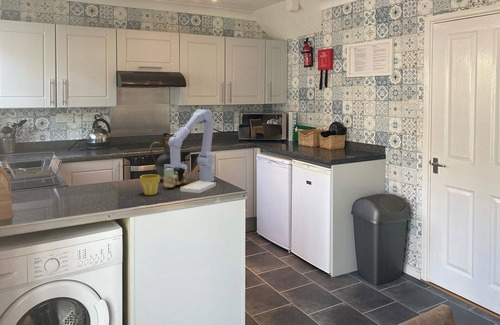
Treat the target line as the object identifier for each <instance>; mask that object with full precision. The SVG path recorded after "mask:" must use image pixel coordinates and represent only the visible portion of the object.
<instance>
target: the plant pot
mask: <svg viewBox="0 0 500 325" xmlns="http://www.w3.org/2000/svg"><path fill="white" fill-rule="evenodd" d="M160 179H161V176H160V175H159V174H143V175H140V176H139V182H140V184H141V186H142V190H143V193H144V195H145V196H153V195H156V194H157V193H158V189H159V183H160V182H161V180H160Z"/></svg>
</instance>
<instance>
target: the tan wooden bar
mask: <svg viewBox="0 0 500 325" xmlns="http://www.w3.org/2000/svg"><path fill="white" fill-rule="evenodd" d="M162 179H164V181H163V187H166V188H173V187H176V185H177V186H178V185H182V184H183V183H187V182H188V181H189V173H188V170H187V171H186V172H184V174H183V177H182V181H179V178H178V172H175V173H174V176H171V177H168V176H163V177H162Z"/></svg>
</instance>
